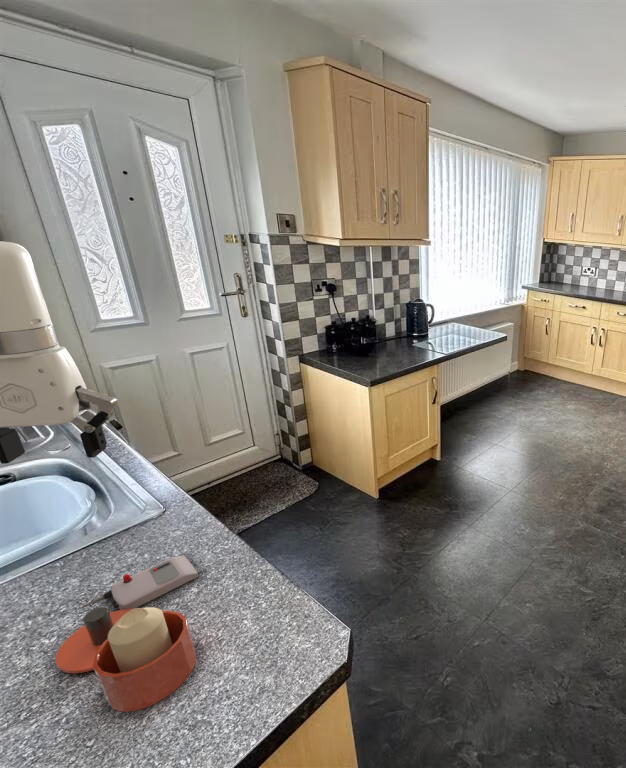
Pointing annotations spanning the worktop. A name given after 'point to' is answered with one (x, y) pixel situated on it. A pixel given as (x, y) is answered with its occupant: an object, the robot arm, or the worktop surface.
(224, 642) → the worktop surface
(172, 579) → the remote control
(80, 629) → the lid
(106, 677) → the pot
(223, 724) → the worktop surface
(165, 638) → the candle
